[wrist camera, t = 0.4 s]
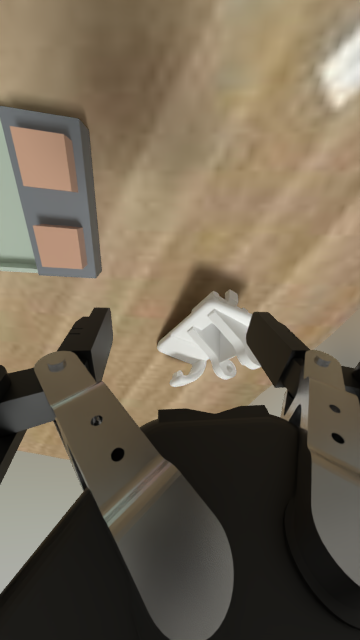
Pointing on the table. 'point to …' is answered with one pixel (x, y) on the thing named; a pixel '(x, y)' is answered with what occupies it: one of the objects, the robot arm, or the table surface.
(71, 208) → the grey flat block
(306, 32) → the table surface
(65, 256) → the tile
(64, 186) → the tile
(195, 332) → the tape dispenser
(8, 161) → the tray
